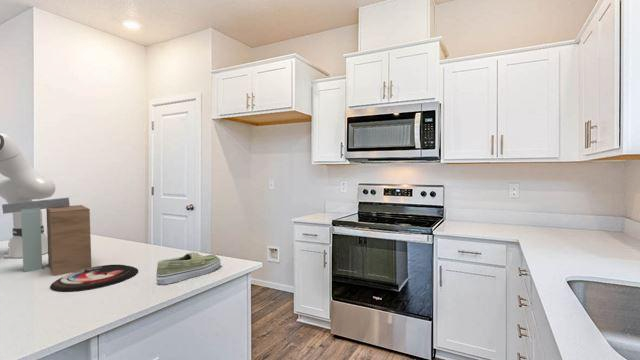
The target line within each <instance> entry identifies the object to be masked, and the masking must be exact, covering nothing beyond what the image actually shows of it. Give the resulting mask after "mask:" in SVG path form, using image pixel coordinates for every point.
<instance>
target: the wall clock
mask: <svg viewBox="0 0 640 360" xmlns="http://www.w3.org/2000/svg"><path fill="white" fill-rule="evenodd" d="M138 273H139V269H138V268H137V267H134V266H131V265H125V264H105V265H98V266H91V268H86V269H82V270H78V271H75V272H72V273H66V274H64V276H62V277H60V278H57V279H55V280H54V282H52V283H51V284H50V287H49V288H50V289H51V290H52V291H56V292H62V293H68V292H69V293H71V292H81V291H82V292H83V291H88V290H89V291H90V290H95V289H99V288H104V287H105V288H106V287H108V286H112V285H115V284H118V283H122V282H124V281H127V280H129V279H131V278H132V277H134V276H135V275H137V274H138Z"/></svg>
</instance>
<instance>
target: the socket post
mask: <svg viewBox="0 0 640 360" xmlns="http://www.w3.org/2000/svg"><path fill="white" fill-rule="evenodd" d="M21 224H22V248H23V257H22V268H23V272H24V273H27V272H28V273H29V272H32V271H38V270H39V271H40V270H43V254H42V245H41V220H40V208H34V209H21Z"/></svg>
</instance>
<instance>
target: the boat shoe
mask: <svg viewBox="0 0 640 360" xmlns="http://www.w3.org/2000/svg"><path fill="white" fill-rule="evenodd" d="M220 266H221V258H220V257H219V256H217V255H216V254H209V255H202V254H200V253H198V252H188V253H185V254H184V255H183V256H180V257H174V258H167V259H161V260H159V261H157V266H156V275H155V276H156V277H155V280H156V282H157V284H158V285H162V286H163V285H171V284H175V283H178V282H182V281H185V280H188V279H192V278H195V277H196V278H197V277H200V276H204V275H206V274H207V275H208V274H209V273H212V272H214V271H216V270H217V269H218V268H219V267H220Z"/></svg>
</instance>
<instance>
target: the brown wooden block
mask: <svg viewBox="0 0 640 360" xmlns="http://www.w3.org/2000/svg"><path fill="white" fill-rule="evenodd" d="M90 211H91V210H90V208H89V207H86V206H84V205H83V204H79V205H78V204H77V205H70V206H64V207H56V208H47V209H46V212H45V213H46V236H47V239H48V253H47V257H48V258H47V260H48V261H47V262H48V267H49V269H50V271H51V274H52V276H60V275H67V274H70V273H72V272H75V271H78V270H82V269H86V268H91V267H92V242H91V241H92V240H91V239H92V238H91V214H90V213H91V212H90Z"/></svg>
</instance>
